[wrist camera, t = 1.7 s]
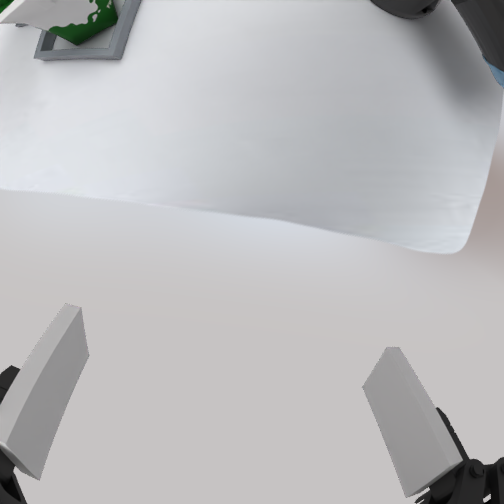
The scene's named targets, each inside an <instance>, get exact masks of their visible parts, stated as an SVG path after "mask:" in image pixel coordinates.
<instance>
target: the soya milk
mask: <svg viewBox="0 0 504 504" xmlns="http://www.w3.org/2000/svg"><path fill="white" fill-rule="evenodd" d="M117 21H118V17H117V13H116V10H115V7H114V4H113V0H0V24H7V23H22V24H28V25H30V26H33V27H36V28H39V29H42V30H45V31H47V32H50V33H53V34H55V35H58V36H60V37H62V38H64V39H66V40H67V41H69V42H71V43H73V44H75V45H79V44H80V43H82V42H83V41H85V40H87V39H88V38H90V37H92V36H93V35H95V34H97V33H99V32H100V31H102V30H104V29H106V28H108V27H109V26H111V25H113V24H115V23H117Z"/></svg>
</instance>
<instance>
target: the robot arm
mask: <svg viewBox="0 0 504 504" xmlns="http://www.w3.org/2000/svg"><path fill="white" fill-rule="evenodd" d="M371 1H372V2H373V3H375V4H376V5H377V6H379V7H380V8H382V9H384V10H385V11H387V12H389V13H391V14H393V15H396V16H399V17H402V18H408V19H416V18H420V17H423V16H425V15H428V14H430V13H431V12H432V11H434V9H435V8H436V7H437V6H438V4H439V3H440V2H441V0H371ZM451 1H452V3H453V4H454V6H455V7H456V9H457V10H458V12H459V13H460V15H461V17H462V18H463V20H464V21H465V23H466V25H467V26H468V28H469V30H470V32H471V33H472V35H473V37H474V39H475V40H476V42H477V44H478V46H479V48H480V50H481V52H482V56H483V58H484V60H485V62H486V63H487V64H488V65H489V67H490V69H491V71H492V73H493V75H494V77H495V79H496V81H497V82H498V83H499V84H500V85H501V86H502V87H503V88H504V0H451ZM88 357H89V352H88V347H87V342H86V336H85V330H84V324H83V316H82V309H81V307H78V306H74V305H70V304H66V303H65V305H64V306H63V307H62V309H61V310H60V311H59V313H58V314H57V316H56V317H55V318H54V320H53V321H52V323H51V324H50V325H49V327H48V328H47V330H46V331H45V333H44V334H43V335H42V337H41V338H40V340H39V341H38V343H37V344H36V346H35V348H34V349H33V351H32V352H31V354H30V355H29V357H28V358H27V360H26V361H25V363H24V365H23V366H22V368H21V369H19V368H16V367H14V366H12V365H11V366H10V367H9V368H7V369H6V370H5V371H3V372H2V373H1V374H0V504H27V503H26V500H25V498H24V496H23V493H22V491H21V488H20V486H19V484H18V481H17V478H16V476H15V474H14V472H13V470H14V467H15V466H16V467H17V468H18V469H19V470H20V471H21V472H23V473H25V474H27V475H29V476H31V477H33V478H35V479H37V480H40V478H41V474H42V471H43V468H44V465H45V462H46V459H47V456H48V453H49V450H50V447H51V445H52V442H53V439H54V437H55V434H56V431H57V429H58V426H59V424H60V421H61V419H62V416H63V414H64V411H65V409H66V406H67V404H68V402H69V399H70V397H71V395H72V392H73V390H74V388H75V385H76V383H77V381H78V379H79V377H80V374H81V372H82V370H83V368H84V366H85V364H86V361H87V359H88ZM363 390H364V392H365V394H366V397H367V399H368V402H369V404H370V406H371V409H372V411H373V414H374V416H375V418H376V421H377V423H378V426H379V428H380V431H381V433H382V436H383V438H384V441H385V443H386V446H387V448H388V451H389V454H390V456H391V459H392V462H393V464H394V467H395V470H396V472H397V475H398V478H399V480H400V483H401V486H402V489H403V491H404V494H405V497H406V498H407V497H410V496H413V495H415V494H418V493H420V492H421V491H423V490H424V489H426V488H428V487H429V488H430V490H429V491H428V492H426V493H425V494H423V495H422V496H420V497H419V498H418V499H417V500H416V501H415V503H416V504H417V503H418V502H420V501H421V500H423V499H424V501H423V502H421V503H420V504H504V457H502V458H500V459H499V460H498V461H497V462H495V463H494V464H490V465H483V464H482V463H481V462H480V461H479V460H477V459H471V460H470V459H469V457H468V456H467V454H466V452H465V450H464V448H463V446H462V444H461V442H460V441H459V438H458V437H457V435H456V433H454V429H453V427H452V426H450V422H449V420H448V418H447V417H446V415H445V414H444V413H443V412H442V411H441V410H440V409H439V408H438V407H437V408H435V406H434V404H433V403H432V401H431V399H430V397H429V396H428V394H427V392H426V391H425V389H424V387H423V385H422V384H421V382H420V380H419V379H418V377H417V375H416V374H415V372H414V370H413V369H412V367H411V365H410V364H409V362H408V361H407V359H406V357H405V356H404V354H403V352H402V351H401V349H400V348H399V347H387V348H386V349H385V351H384V353H383V354H382V356H381V358H380V359H379V361H378V363H377V364H376V366H375V368H374V370H373V371H372V373H371V374H370V376H369V377H368V379H367V380H366V382H365V384H364V385H363ZM489 494H491V499H490V500H488V501H487V502H485V503H484V502H483V498H485V497H486V496H488V495H489Z"/></svg>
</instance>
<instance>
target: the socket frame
mask: <svg viewBox="0 0 504 504" xmlns="http://www.w3.org/2000/svg"><path fill="white" fill-rule="evenodd" d="M140 2H141V0H125V3H124V5H123V8H122V10H121V13H120V16H119V18H118V21H117V24H116V27H115V30H114V33H113V36H112V39H111V42H110V45H109V48H83V49H62V50H52V47H53V44H54V41H55V38H56V35H55V34H53V33H50V32H47V31H45V30H42V32H41V35H40V38H39V41H38V45H37V48H36V51H35V55H34V58H35V59H39V60H44V61H45V60H60V59H121V58H122V55H123V51H124V48H125V45H126V42H127V38H128V35H129V32H130V29H131V27H132V24H133V21H134V18H135V15H136V13H137V10H138V7H139V5H140Z"/></svg>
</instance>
